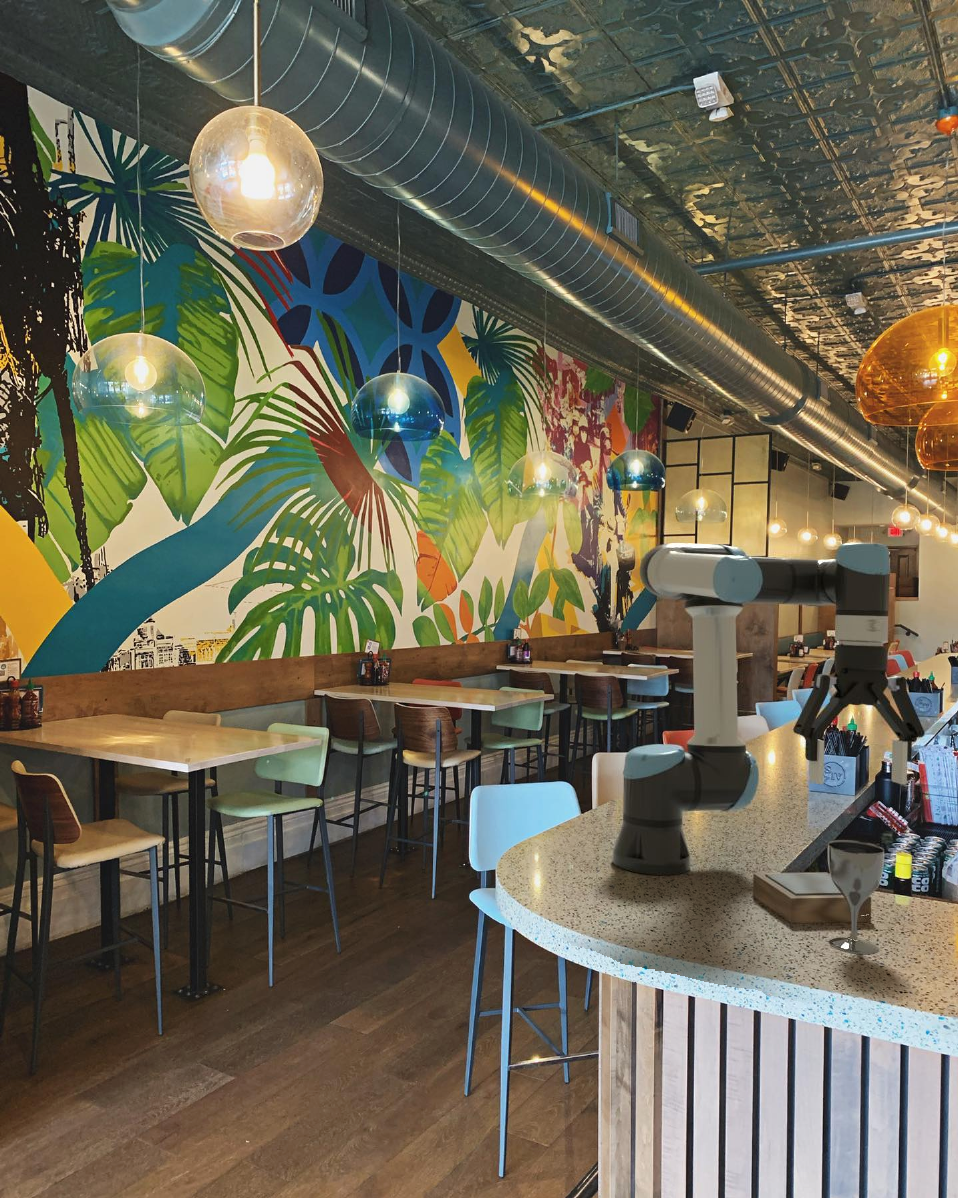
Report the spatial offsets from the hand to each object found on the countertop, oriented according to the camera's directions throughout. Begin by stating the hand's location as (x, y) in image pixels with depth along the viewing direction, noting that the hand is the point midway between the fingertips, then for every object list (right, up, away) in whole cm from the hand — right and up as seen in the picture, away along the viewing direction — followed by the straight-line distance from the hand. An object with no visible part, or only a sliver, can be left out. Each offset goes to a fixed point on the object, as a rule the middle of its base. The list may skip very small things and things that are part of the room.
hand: (857, 783), depth 136 cm
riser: (-1, -25, +17) cm, 30 cm away
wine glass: (-1, -25, 0) cm, 25 cm away
